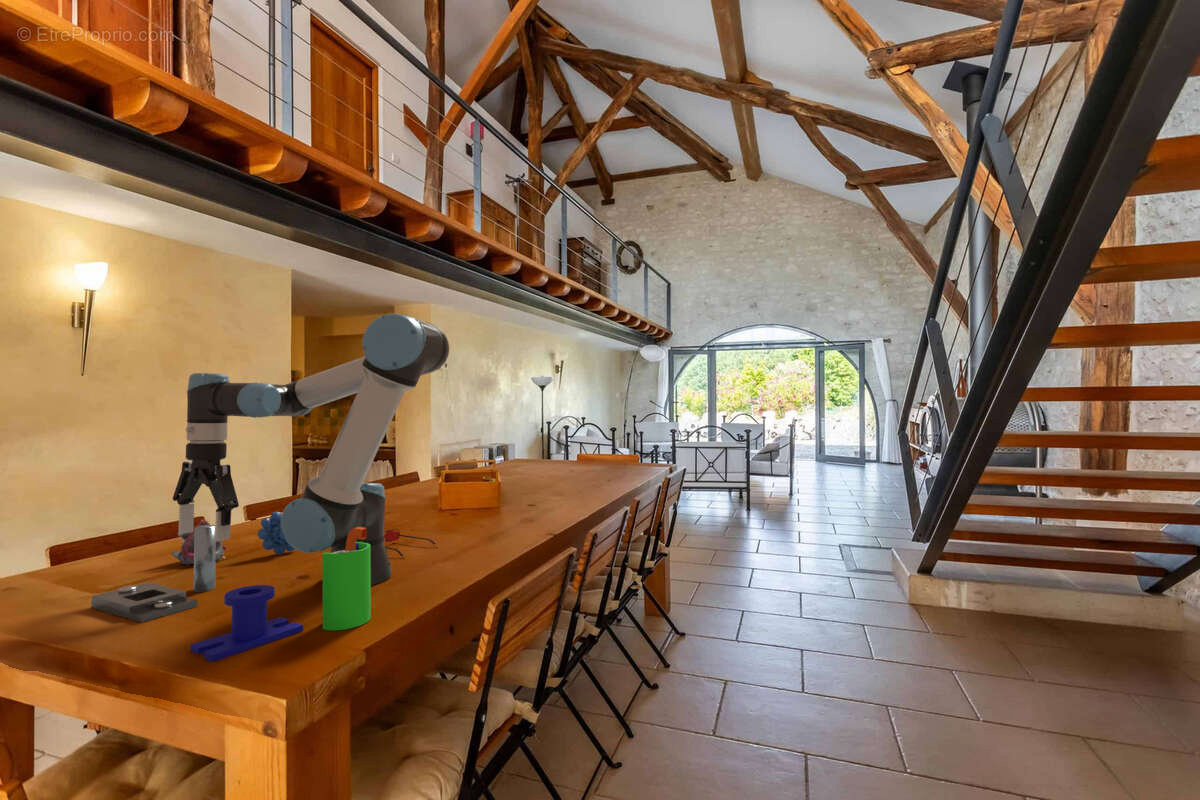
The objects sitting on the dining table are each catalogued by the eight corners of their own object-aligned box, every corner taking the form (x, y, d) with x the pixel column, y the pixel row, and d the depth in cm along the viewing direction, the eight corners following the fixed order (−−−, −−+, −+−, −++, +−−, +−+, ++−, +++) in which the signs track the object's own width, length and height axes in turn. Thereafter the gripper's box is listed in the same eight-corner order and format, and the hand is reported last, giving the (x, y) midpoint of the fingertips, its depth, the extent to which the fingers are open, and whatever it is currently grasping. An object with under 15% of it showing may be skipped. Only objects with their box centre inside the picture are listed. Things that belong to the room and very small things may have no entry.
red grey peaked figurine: (203, 559, 141) (180, 520, 143) (174, 583, 143) (153, 544, 145) (241, 549, 152) (220, 512, 154) (215, 571, 154) (194, 534, 156)
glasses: (397, 542, 172) (397, 526, 172) (439, 549, 165) (440, 532, 165) (360, 553, 159) (360, 535, 159) (404, 560, 152) (405, 542, 152)
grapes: (263, 561, 149) (264, 516, 149) (253, 556, 153) (254, 512, 153) (308, 552, 158) (309, 510, 158) (298, 548, 162) (299, 507, 162)
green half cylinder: (335, 612, 112) (336, 522, 113) (376, 612, 113) (378, 522, 113) (316, 631, 103) (317, 532, 103) (361, 629, 104) (362, 532, 104)
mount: (211, 663, 90) (212, 608, 91) (190, 652, 94) (191, 599, 95) (303, 632, 103) (303, 584, 103) (280, 623, 107) (281, 577, 107)
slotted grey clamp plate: (197, 606, 115) (197, 591, 115) (140, 622, 106) (141, 606, 106) (148, 593, 123) (148, 579, 123) (91, 607, 114) (91, 592, 114)
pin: (219, 588, 127) (220, 525, 127) (200, 593, 123) (201, 529, 123) (208, 585, 129) (209, 524, 129) (189, 590, 125) (190, 527, 125)
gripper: (156, 439, 128) (153, 533, 128) (223, 445, 118) (220, 547, 117) (191, 438, 135) (189, 526, 135) (258, 443, 124) (255, 539, 124)
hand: (203, 536), depth 126 cm, fingers open, 13 cm apart
